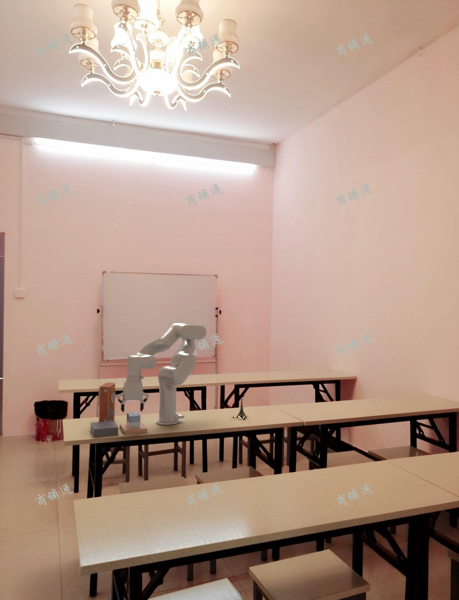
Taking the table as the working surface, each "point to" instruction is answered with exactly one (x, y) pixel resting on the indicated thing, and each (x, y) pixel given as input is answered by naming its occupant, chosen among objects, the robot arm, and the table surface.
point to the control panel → (107, 402)
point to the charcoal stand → (104, 428)
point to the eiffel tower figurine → (241, 411)
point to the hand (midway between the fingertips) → (132, 411)
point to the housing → (133, 420)
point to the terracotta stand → (126, 429)
